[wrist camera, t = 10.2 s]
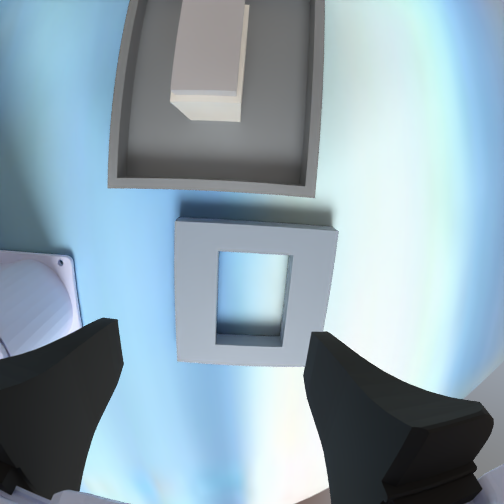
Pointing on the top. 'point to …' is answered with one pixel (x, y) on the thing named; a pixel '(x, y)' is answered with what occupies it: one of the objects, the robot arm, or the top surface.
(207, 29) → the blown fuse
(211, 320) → the grey flat square frame
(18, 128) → the top surface
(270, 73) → the parts tray
